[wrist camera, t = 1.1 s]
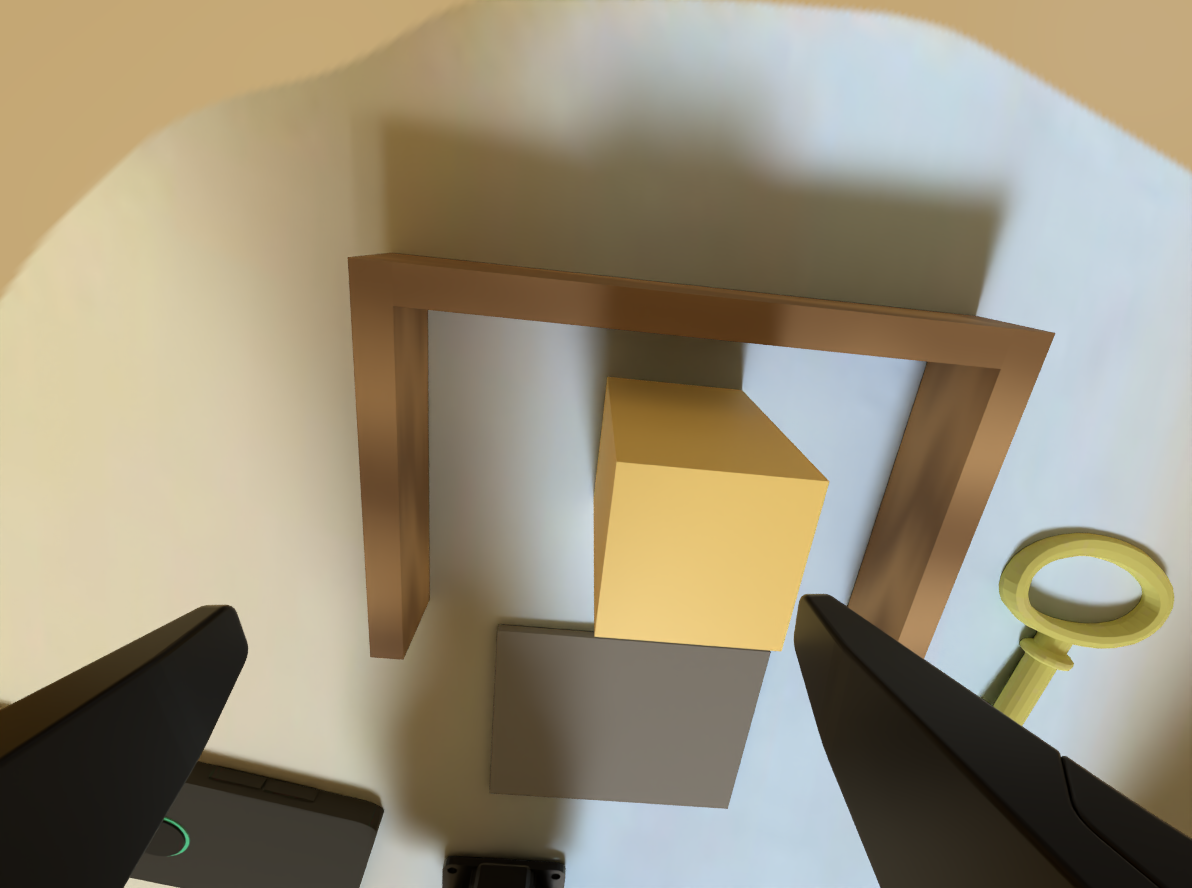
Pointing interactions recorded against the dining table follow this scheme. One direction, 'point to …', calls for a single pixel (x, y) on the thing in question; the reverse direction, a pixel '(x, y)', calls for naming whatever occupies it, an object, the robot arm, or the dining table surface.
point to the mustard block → (698, 518)
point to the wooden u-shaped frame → (945, 340)
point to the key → (1060, 635)
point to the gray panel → (620, 717)
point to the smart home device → (259, 835)
